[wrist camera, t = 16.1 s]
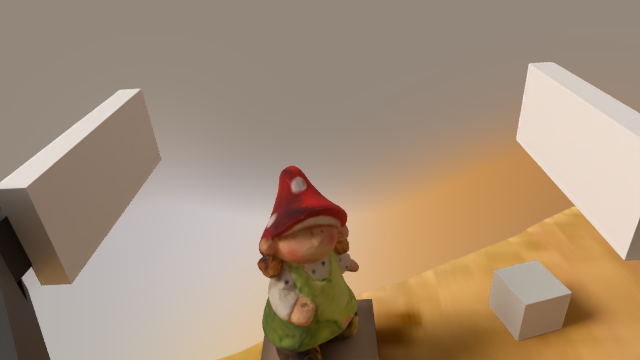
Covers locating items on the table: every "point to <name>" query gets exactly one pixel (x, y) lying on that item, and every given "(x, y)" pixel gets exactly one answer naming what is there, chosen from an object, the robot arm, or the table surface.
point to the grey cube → (528, 299)
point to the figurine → (306, 271)
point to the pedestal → (349, 355)
